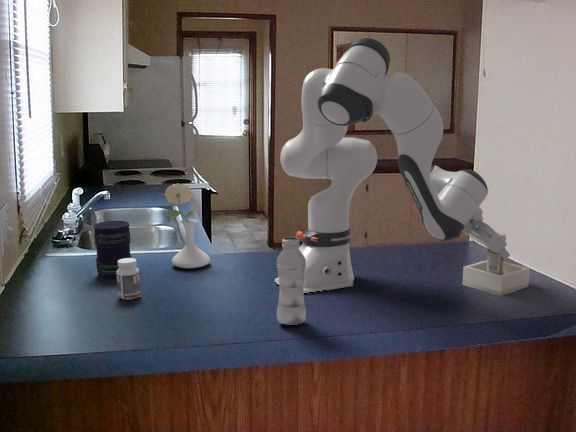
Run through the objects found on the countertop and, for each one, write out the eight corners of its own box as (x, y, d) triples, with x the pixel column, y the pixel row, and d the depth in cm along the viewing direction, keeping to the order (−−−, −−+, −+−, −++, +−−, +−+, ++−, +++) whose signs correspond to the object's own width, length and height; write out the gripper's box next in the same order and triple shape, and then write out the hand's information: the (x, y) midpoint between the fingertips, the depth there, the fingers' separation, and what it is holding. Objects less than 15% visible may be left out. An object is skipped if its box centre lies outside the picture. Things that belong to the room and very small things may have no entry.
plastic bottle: (275, 319, 156) (274, 235, 151) (304, 318, 156) (304, 234, 152) (277, 329, 149) (276, 242, 145) (308, 328, 150) (307, 241, 146)
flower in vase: (215, 261, 205) (212, 180, 199) (204, 272, 194) (200, 186, 188) (174, 260, 207) (170, 179, 202) (161, 270, 196) (156, 186, 191)
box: (500, 296, 170) (501, 277, 169) (462, 284, 179) (463, 266, 178) (528, 286, 177) (529, 268, 176) (490, 276, 186) (491, 258, 185)
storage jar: (100, 282, 185) (96, 229, 182) (94, 273, 194) (90, 222, 191) (136, 277, 189) (132, 226, 186) (129, 268, 198) (126, 219, 195)
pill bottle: (145, 295, 174) (143, 258, 172) (133, 302, 169) (131, 264, 167) (126, 293, 176) (123, 256, 174) (113, 300, 171) (111, 262, 169)
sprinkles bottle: (507, 283, 177) (510, 233, 174) (495, 286, 174) (498, 236, 171) (493, 279, 180) (495, 230, 178) (481, 282, 178) (484, 232, 175)
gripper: (489, 216, 163) (525, 253, 166) (459, 200, 183) (492, 234, 186) (471, 234, 163) (507, 271, 166) (443, 217, 183) (476, 250, 186)
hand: (499, 251), depth 176 cm, fingers open, 8 cm apart
